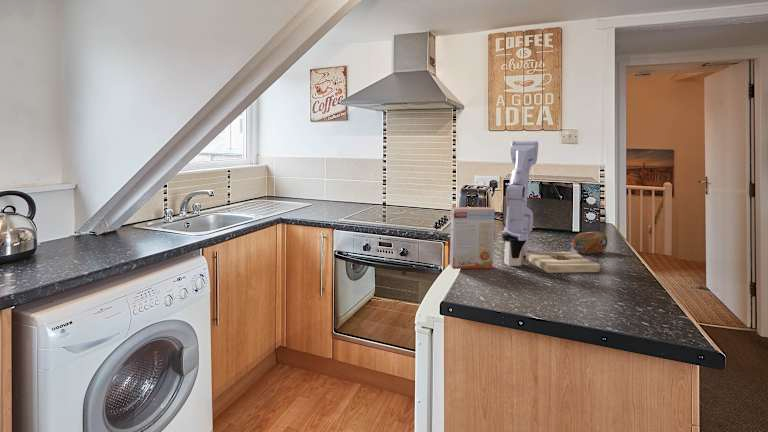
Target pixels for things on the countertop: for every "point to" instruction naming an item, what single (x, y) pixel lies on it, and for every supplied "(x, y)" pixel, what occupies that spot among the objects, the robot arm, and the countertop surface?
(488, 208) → the cracker box
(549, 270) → the socket plate
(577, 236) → the tin
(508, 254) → the keyed peg
